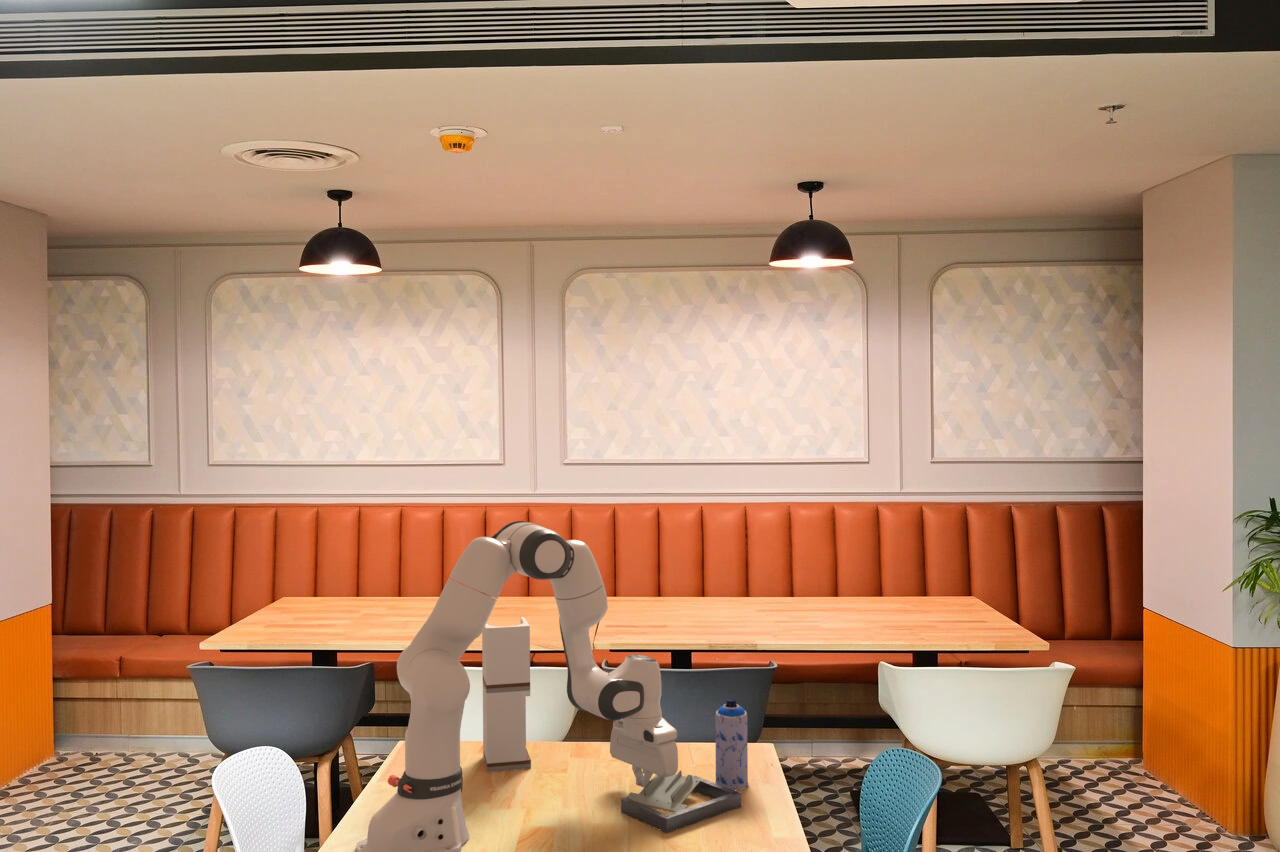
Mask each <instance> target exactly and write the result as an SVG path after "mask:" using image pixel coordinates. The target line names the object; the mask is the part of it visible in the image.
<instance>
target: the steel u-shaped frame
mask: <svg viewBox="0 0 1280 852" xmlns="http://www.w3.org/2000/svg"><path fill="white" fill-rule="evenodd" d="M690 778H691V777H690ZM692 778H695V779H699V780H700V782H699V783H698V785H697V786H696V787H695V788H694V789H693V790H692V792H694V793H697V794H699V793H700V795H702V796H705V797H707V798H709V797H710V799H711V800H707V801H704V802H702V803H698V804H696V805H693V806H690V807H689V806H688V807H687V808H686V809H683V810H680V811H677V812H675V813H668V814H666V813H663V812H661V811H659V810H656V808H653V807H649V806H646V805H643V804H641V803H639V802H636V801H634V800H632V799H630V798H627V796H626V797H623V798H620V813H621V814H623V815H626V816H628V817H630V818H632V819H634V820H636V819H637V820H636V821H639V822H641V823H643V824H646V825H647V826H649V827H651V828H654V827H655V829H656V828H657V829H656V830H658V829H660V830H661V832H662V833H665V832H666V834H669V833H671V831H672V832H674V831H677V830H676V829H678V830H681V829H682V828H685V827H688V826H691V825H694V824H698V823H700V822H702V821H703V822H704V821H705V820H708V819H711V818H714V817H717V816H719V815H723V814H725V813H728V812H730V811H733V810H736V809H739V807H740V808H742V807H743V806H742V804H743V803H742V793H741V792H739V791H734V790H731V789H729V788H726V787H724V786H721V785H718V784H716V783H715V782H712V781H710V780H708V779H705V778H704V777H703V778H702V777H700V776H697V775H692ZM660 830H659V831H660ZM673 830H674V831H673ZM668 832H669V833H668Z"/></svg>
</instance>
